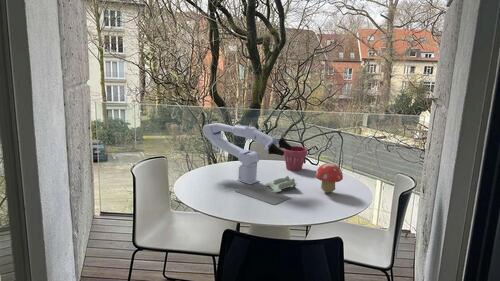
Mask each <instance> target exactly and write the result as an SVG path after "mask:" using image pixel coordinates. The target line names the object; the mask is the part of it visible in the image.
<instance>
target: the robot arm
mask: <svg viewBox="0 0 500 281" xmlns="http://www.w3.org/2000/svg"><path fill="white" fill-rule="evenodd" d="M223 132H228V133H232V134H233V135H234V136H235V137H236V136H238V137H242V138H245V139H246V140H252V141H254V142H255V143H258V144H259V145H261V146H264V148H263V151H265V152H268V154H269V155H278V156H281V157H283V156H284V151H283V148H284V149H287V150H290V151H291V149H292V146H293V145H290V144H289V142H287V141H286V139H285V138H284V137H283V136H282V137H276V136H275V135H274V136H270V135H268V134H266V133H264V132H262V131H260V130H259V129H258V128H257V127H255V126H253V125H252V126H248V125H241V123H237V124H235V125H234V126H233V125H229V124H226V123H221V122H214V123H209V124H205V125H203V126H202V134H203V136H204V137H205V138H206V139H208V141H209V142H210V143H211V144H212V145H213V146H214V147H216V148H219V149H220V150H222V151H223V152H226V153H228V154H229V155H230V154H231V155H232V156H233V157H236V158H237V159H238V162H240V163H241V164H240V165H239V167H238V173H237V174H238V175H237V176H238V178H237V181H238V182H242V183H245V184H248V185H252V184H253V185H254V184H255V183H258V182H260V180H259V179H257V172H258V163H259V161H260V158H261V157H260V156H261V155H260V154H259V152H257V151H255V150H254V151H253V150H249V149H244V148H241V147H240V146H237V145H235V144H234V143H232V142H229V141H228V140H226V139H223V138H222V137H223V136H222V135H223V134H222V133H223ZM277 145H279V146H277Z"/></svg>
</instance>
